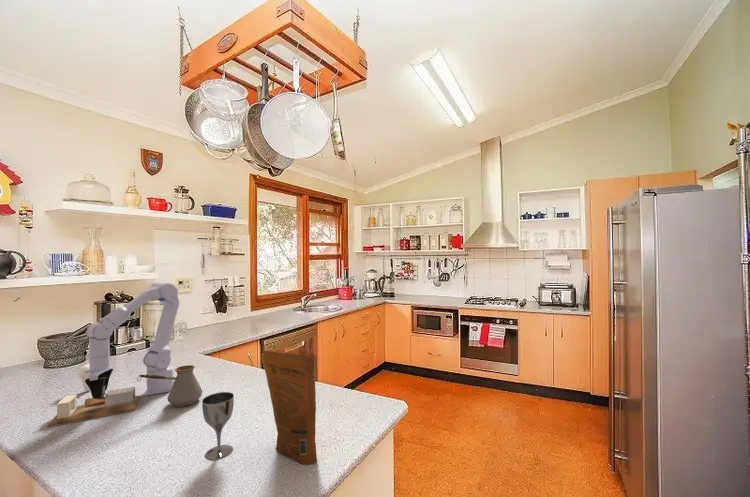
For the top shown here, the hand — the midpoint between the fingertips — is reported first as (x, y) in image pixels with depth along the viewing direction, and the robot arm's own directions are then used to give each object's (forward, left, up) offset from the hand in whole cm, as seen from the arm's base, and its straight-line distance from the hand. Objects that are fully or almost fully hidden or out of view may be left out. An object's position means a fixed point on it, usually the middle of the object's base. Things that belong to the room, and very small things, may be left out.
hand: (99, 394), depth 119 cm
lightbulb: (+10, -25, -6) cm, 28 cm away
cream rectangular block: (+9, 0, -6) cm, 11 cm away
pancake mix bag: (-56, +60, -6) cm, 82 cm away
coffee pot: (-23, +10, -6) cm, 26 cm away
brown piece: (-3, 0, -4) cm, 5 cm away
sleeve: (-6, 0, -6) cm, 8 cm away
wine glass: (-38, +49, -6) cm, 62 cm away
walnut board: (0, 0, -6) cm, 6 cm away
